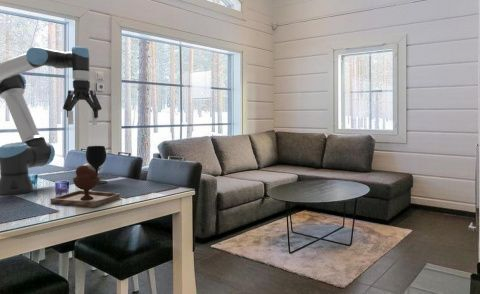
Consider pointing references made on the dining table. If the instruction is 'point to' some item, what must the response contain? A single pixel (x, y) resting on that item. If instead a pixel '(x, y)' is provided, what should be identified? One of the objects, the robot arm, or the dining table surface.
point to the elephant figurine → (91, 166)
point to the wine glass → (96, 158)
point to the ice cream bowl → (86, 180)
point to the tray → (75, 197)
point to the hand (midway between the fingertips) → (82, 124)
